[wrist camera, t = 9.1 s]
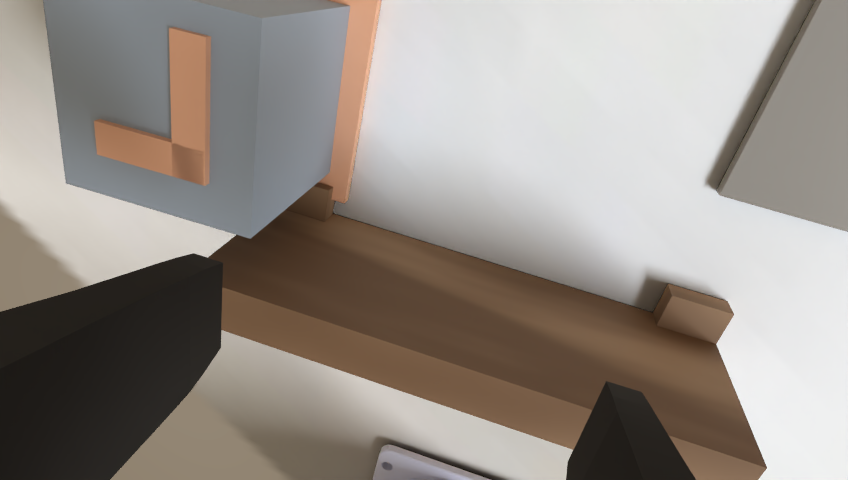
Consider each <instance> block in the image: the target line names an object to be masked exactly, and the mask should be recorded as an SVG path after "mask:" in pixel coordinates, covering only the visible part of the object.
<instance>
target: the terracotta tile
mask: <svg viewBox="0 0 848 480" xmlns="http://www.w3.org/2000/svg"><path fill="white" fill-rule="evenodd" d="M328 1H332V2H336V3H340V4H345V5H349V6H350V12H349V20H348V28H347V36H346V45H345V53H344V61H343V69H342V77H341V85H340V93H339V101H338V109H337V117H336V126H335V134H334V142H333V150H332V158H331V166H330V173H328V174H327V175H326V176H325V177H324V178H322V179H321V180H320V181H319V183H322V184H325V185H328V186H332V187H333V192H332V199H331V200H335V201H338V202H341V203H345V202H346V201H347V200H348V198H349V192H350V186H351V180H352V174H353V168H354V162H355V156H356V150H357V144H358V138H359V132H360V126H361V120H362V114H363V108H364V102H365V96H366V90H367V84H368V78H369V72H370V66H371V60H372V54H373V48H374V42H375V36H376V30H377V24H378V18H379V12H380V6H381V0H328Z"/></svg>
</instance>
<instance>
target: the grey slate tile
mask: <svg viewBox="0 0 848 480" xmlns="http://www.w3.org/2000/svg"><path fill="white" fill-rule="evenodd" d="M716 191H717V192H718V194H719V195H720V196H724V197H727V198H731V199H734V200H738V201H741V202H745V203H749V204H752V205H756V206H759V207H763V208H766V209H770V210H773V211H777V212H780V213H784V214H787V215H791V216H794V217H798V218H801V219H805V220H808V221H812V222H815V223H819V224H823V225H826V226H830V227H833V228H837V229H840V230H844V231H847V232H848V0H815V2H814V4H813V6H812V8H811V10H810V12H809V13H808V15H807V17H806V19H805V21H804V23H803V25H802V27H801V29H800V31H799V33H798V35H797V37H796V38H795V40H794V42H793V44H792V46H791V48H790V50H789V52H788V54H787V56H786V58H785V60H784V62H783V63H782V65H781V67H780V69H779V71H778V73H777V75H776V77H775V79H774V81H773V83H772V85H771V87H770V88H769V90H768V92H767V94H766V96H765V98H764V100H763V102H762V104H761V106H760V108H759V110H758V112H757V113H756V115H755V117H754V119H753V121H752V123H751V125H750V127H749V129H748V131H747V133H746V135H745V137H744V138H743V140H742V142H741V144H740V146H739V148H738V150H737V152H736V154H735V156H734V158H733V160H732V162H731V163H730V165H729V167H728V169H727V171H726V173H725V175H724V177H723V179H722V181H721V183H720V185H719V187H718V188H717V190H716Z"/></svg>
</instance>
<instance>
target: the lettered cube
mask: <svg viewBox="0 0 848 480" xmlns="http://www.w3.org/2000/svg"><path fill="white" fill-rule="evenodd" d="M43 3H44V11H45V19H46V27H47V35H48V43H49V51H50V59H51V67H52V75H53V83H54V91H55V99H56V107H57V115H58V123H59V131H60V139H61V147H62V155H63V163H64V171H65V179H66V183H67V184H70V185H73V186H77V187H80V188H83V189H87V190H90V191H93V192H97V193H100V194H103V195H107V196H110V197H113V198H117V199H120V200H123V201H127V202H130V203H133V204H137V205H140V206H143V207H147V208H150V209H153V210H157V211H160V212H163V213H167V214H170V215H173V216H176V217H180V218H183V219H186V220H190V221H193V222H196V223H200V224H203V225H206V226H210V227H213V228H216V229H220V230H223V231H226V232H230V233H233V234H236V235H240V236H243V237H246V238H250V239H251V238H252V237H253V236H254V235H256V234H257V233H258V232H259V231H260V230H262V229H263V228H264V227H265V226H266V225H268V224H269V223H270V222H271V221H272V220H274V219H275V218H276V217H277V216H278V215H280V214H281V213H282V212H283V211H284V210H285V209H287V208H288V207H289V206H290V205H291V204H293V203H294V202H295V201H296V200H297V199H299V198H300V197H301V196H302V195H303V194H305V193H306V192H307V191H308V190H309V189H311V188H312V187H313V186H314V185H315V184H317V183H318V182H319V181H320V180H321V179H322V178H324V177H325V176H326V175H327V174H328V173H330V166H331V158H332V150H333V142H334V134H335V126H336V117H337V109H338V101H339V93H340V85H341V77H342V69H343V61H344V53H345V45H346V36H347V28H348V20H349V12H350V6H349V5H345V4H340V3H336V2H332V1H328V0H43Z"/></svg>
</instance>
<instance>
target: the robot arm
mask: <svg viewBox="0 0 848 480" xmlns="http://www.w3.org/2000/svg"><path fill="white" fill-rule="evenodd" d="M222 284H223V262H220V261H216V260H213V259H210V258H207V257H203V256H200V255H197V254H190V255H186V256H182V257H178V258H175V259H171V260H168V261H165V262H161V263H158V264H155V265H152V266H149V267H146V268H143V269H140V270H137V271H134V272H130V273H127V274H124V275H121V276H118V277H115V278H112V279H109V280H106V281H103V282H100V283H96V284H93V285H90V286H87V287H84V288H81V289H78V290H75V291H72V292H68V293H65V294H61V295H58V296H54V297H51V298H47V299H44V300H41V301H37V302H33V303H30V304H26V305H23V306H19V307H16V308H12V309H9V310H6V311H2V312H0V480H110V479H111V478H112V477H113V476H114V475H115V474H116V473H117V471H118V470H119V469H120V468H121V467H122V466H123V465H124V464H125V463H126V462H127V461H128V459H129V458H130V457H131V456H132V455H133V454H134V453H135V452H136V451H137V450H138V448H139V447H140V446H141V445H142V444H143V443H144V442H145V441H146V440H147V439H148V438H149V437H150V436H151V434H152V433H153V432H154V431H155V430H156V429H157V428H158V427H159V426H160V424H161V423H162V422H163V421H164V420H165V419H166V418H167V417H168V416H169V415H170V413H171V412H172V411H173V410H174V409H175V408H176V407H177V405H179V404H180V402H181V401H182V400H183V399H184V398H185V397H186V396H187V395H188V393H189V392H190V391H191V390H192V388H193V387H194V386H195V384H196V383H197V381H198V380H199V379H200V377H201V376H202V374H203V373H204V372H205V370H206V369H207V367H208V366H209V364H210V363H211V361H212V360H213V358H214V357H215V355H216V354H217V352H218V351H219V349H220V348H221V318H222ZM387 462H388V463H387ZM372 480H490V479H488V478H485V477H482V476H479V475H476V474H473V473H471V472H468V471H465V470H462V469H459V468H456V467H454V466H451V465H448V464H445V463H442V462H439V461H436V460H434V459H431V458H428V457H425V456H422V455H419V454H417V453H414V452H411V451H408V450H405V449H402V448H400V447H397V446H394V445H385V446H383V447H382V448H381V450H380V453H379V456H378V460H377V464H376V468H375V472H374V475H373V479H372ZM566 480H696V479H695V477H694V476H693V474H692V472H691V471H690V469H689V468H688V466H687V464H686V463H685V461H684V460H683V458H682V456H681V455H680V453H679V451H678V450H677V448H676V447H675V445H674V443H673V442H672V440H671V438H670V437H669V435H668V433H667V432H666V430H665V429H664V427H663V425H662V424H661V422H660V420H659V419H658V417H657V415H656V414H655V412H654V410H653V409H652V407H651V406H650V404H649V402H648V401H647V399H646V398H645V396H644V395H643V393H642V392H640V391H637V390H634V389H631V388H627V387H624V386H621V385H618V384H614V383H611V382H608V381H606V382H605V385H604V387H603V389H602V391H601V393H600V395H599V397H598V399H597V401H596V404H595V406H594V408H593V410H592V412H591V414H590V416H589V418H588V420H587V423H586V425H585V427H584V429H583V431H582V433H581V435H580V437H579V439H578V442H577V444H576V446H575V448H574V450H573V452H572V454H571V456H570V458H569V461H568V466H567V477H566Z"/></svg>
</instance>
